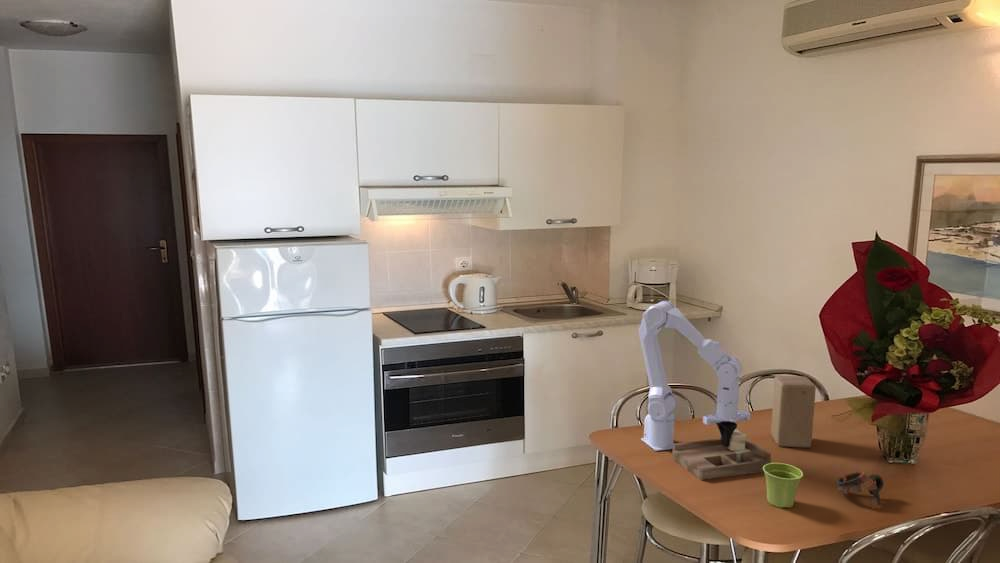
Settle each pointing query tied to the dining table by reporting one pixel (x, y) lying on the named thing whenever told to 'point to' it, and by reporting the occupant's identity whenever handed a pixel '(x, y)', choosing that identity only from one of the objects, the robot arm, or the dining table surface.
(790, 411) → the wooden block
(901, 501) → the dining table surface
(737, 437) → the maple block
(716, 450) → the trap box
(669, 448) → the robot arm
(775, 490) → the plant pot
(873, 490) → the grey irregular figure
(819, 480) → the dining table surface
